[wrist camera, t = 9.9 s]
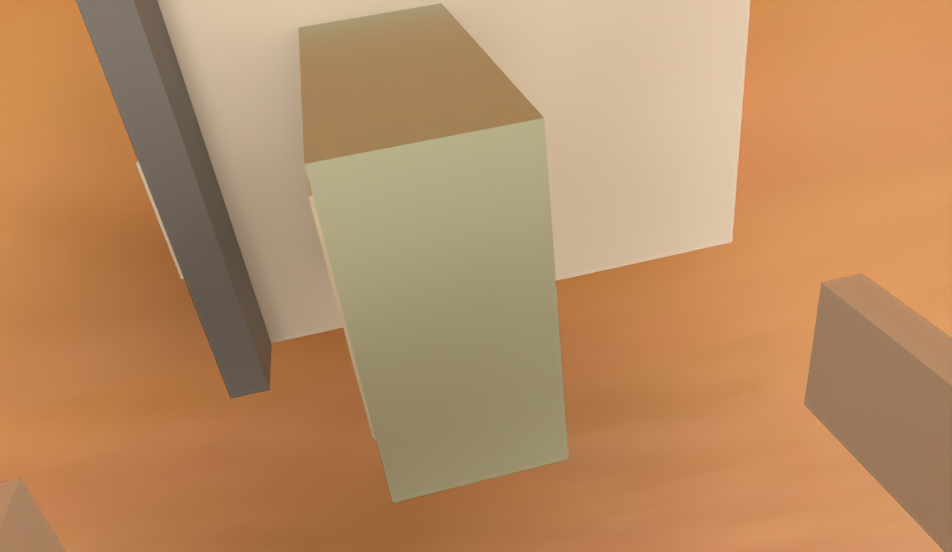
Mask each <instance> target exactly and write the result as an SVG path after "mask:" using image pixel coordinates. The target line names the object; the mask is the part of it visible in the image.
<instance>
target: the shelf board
mask: <svg viewBox="0 0 952 552" xmlns="http://www.w3.org/2000/svg"><path fill="white" fill-rule="evenodd" d="M76 2H77V4H78V7H79V9H80V12H81V15H82V17H83V20H84V22H85V25H86V27H87V30H88V33H89V35H90V38H91V40H92V43H93V45H94V48H95V51H96V53H97V56H98V58H99V61H100V63H101V66H102V69H103V71H104V74H105V76H106V79H107V82H108V84H109V87H110V89H111V92H112V94H113V97H114V100H115V102H116V105H117V107H118V110H119V112H120V115H121V118H122V120H123V123H124V125H125V128H126V130H127V133H128V136H129V138H130V141H131V143H132V146H133V148H134V151H135V154H136V156H137V160H136V162H135V163H136V165H137V168H138V171H139V173H140V176H141V178H142V181H143V183H144V186H145V188H146V191H147V194H148V196H149V199H150V201H151V204H152V206H153V209H154V212H155V214H156V217H157V219H158V222H159V224H160V227H161V229H162V232H163V235H164V237H165V240H166V242H167V245H168V247H169V250H170V252H171V255H172V258H173V260H174V263H175V265H176V268H177V270H178V273H179V275H180V278H181V279H184V280H185V282H186V285H187V287H188V290H189V293H190V295H191V298H192V300H193V303H194V306H195V308H196V311H197V313H198V316H199V318H200V321H201V324H202V326H203V329H204V331H205V334H206V336H207V339H208V342H209V344H210V347H211V349H212V352H213V354H214V357H215V360H216V362H217V365H218V367H219V370H220V372H221V375H222V378H223V380H224V383H225V385H226V388H227V390H228V393H229V396H230V398H235V397H240V396H244V395H249V394H253V393H257V392H262V391H266V390H270V367H271V343H275V342H280V341H284V340H289V339H294V338H298V337H303V336H307V335H312V334H316V333H321V332H325V331H330V330H334V329H339V328H343V325H342V322H341V318H340V314H339V310H338V306H337V303H336V299H335V295H334V291H333V287H332V284H331V280H330V276H329V272H328V269H327V265H326V261H325V257H324V253H323V250H322V246H321V242H320V238H319V234H318V231H317V227H316V223H315V219H314V215H313V212H312V208H311V204H310V200H309V196H308V177H307V172H306V169H305V165H304V145H303V121H302V97H301V72H300V48H299V27H304V26H310V25H316V24H322V23H328V22H334V21H340V20H346V19H352V18H357V17H363V16H369V15H375V14H381V13H387V12H393V11H399V10H404V9H410V8H416V7H422V6H428V5H434V4H440V3H442V4H443V5H444V7H445V8H446V9H447V10H448V11H449V12H450V13H451V14H452V15H453V17H454V18H455V19H456V20H457V21H458V22H459V23H460V24H461V26H462V27H463V28H464V29H465V30H466V31H467V32H468V33H469V34H470V36H471V37H472V38H473V39H474V40H475V41H476V42H477V43H478V45H479V46H480V47H481V48H482V49H483V50H484V51H485V52H486V53H487V55H488V56H489V57H490V58H491V59H492V60H493V61H494V62H495V64H496V65H497V66H498V67H499V68H500V69H501V70H502V71H503V72H504V74H505V75H506V76H507V77H508V78H509V79H510V80H511V81H512V83H513V84H514V85H515V86H516V87H517V88H518V89H519V90H520V91H521V93H522V94H523V95H524V96H525V97H526V98H527V99H528V100H529V101H530V103H531V104H532V105H533V106H534V107H535V108H536V109H537V110H538V112H539V113H540V114H541V115H542V116H543V117H544V121H545V135H546V149H547V163H548V177H549V191H550V205H551V219H552V233H553V247H554V261H555V275H556V281H558V280H562V279H567V278H571V277H576V276H580V275H585V274H589V273H594V272H598V271H603V270H608V269H612V268H617V267H621V266H626V265H630V264H635V263H639V262H644V261H649V260H653V259H658V258H662V257H667V256H671V255H676V254H680V253H685V252H690V251H694V250H699V249H703V248H708V247H712V246H717V245H721V244H726V243H730V242H732V237H733V224H734V211H735V198H736V185H737V171H738V158H739V145H740V132H741V119H742V105H743V92H744V79H745V66H746V53H747V40H748V26H749V13H750V0H76Z"/></svg>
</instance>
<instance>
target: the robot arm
mask: <svg viewBox="0 0 952 552" xmlns="http://www.w3.org/2000/svg"><path fill="white" fill-rule="evenodd" d="M804 405H805V406H806V407H807V408H808V409H809V410H810V411H811V412H812V413H813V414H814V415H815V416H816V417H817V418H818V419H819V420H820V422H821V423H822V424H823V425H824V426H825V427H826V428H827V429H828V430H829V431H830V432H831V433H832V434H833V435H834V436H835V437H836V438H837V439H838V440H839V441H840V442H841V444H842V445H843V446H844V447H845V448H846V449H847V450H848V451H849V452H850V453H851V454H852V455H853V456H854V457H855V458H856V459H857V460H858V461H859V462H860V463H861V464H862V466H863V467H864V468H865V469H866V470H867V471H868V472H869V473H870V474H871V475H872V476H873V477H874V478H875V479H876V480H877V481H878V482H879V483H880V484H881V485H882V486H883V487H884V489H885V490H886V491H887V492H888V493H889V494H890V495H891V496H892V497H893V498H894V499H895V500H896V501H897V502H898V503H899V504H900V505H901V506H902V507H903V508H904V509H905V511H906V512H907V513H908V514H909V515H910V516H911V517H912V518H913V519H914V520H915V521H916V522H917V523H918V524H919V525H920V526H921V527H922V528H923V529H924V530H925V531H926V532H927V534H928V535H929V536H930V537H931V538H932V539H933V540H934V541H935V542H936V543H937V544H938V545H939V546H940V547H941V548H942V549H943V550H944V551H945V552H952V338H951V337H950V336H948V335H947V334H946V333H944V332H943V331H941V330H940V329H939V328H937V327H936V326H934V325H933V324H932V323H930V322H929V321H927V320H926V319H925V318H923V317H922V316H920V315H919V314H918V313H916V312H915V311H914V310H912V309H911V308H909V307H908V306H907V305H905V304H904V303H902V302H901V301H900V300H898V299H897V298H895V297H894V296H893V295H891V294H890V293H889V292H887V291H886V290H884V289H883V288H882V287H880V286H879V285H877V284H876V283H875V282H873V281H872V280H870V279H869V278H868V277H866V276H865V275H863V274H862V273H859V274H855V275H851V276H847V277H843V278H839V279H835V280H831V281H827V282H822V283H821V289H820V296H819V303H818V311H817V318H816V325H815V332H814V339H813V346H812V353H811V360H810V367H809V374H808V381H807V388H806V395H805V402H804ZM0 552H66V551H65V549H64V547H63V546H62V544H61V543H60V541H59V539H58V538H57V536H56V534H55V533H54V531H53V530H52V528H51V526H50V525H49V523H48V521H47V520H46V518H45V517H44V515H43V513H42V512H41V510H40V509H39V507H38V505H37V504H36V502H35V500H34V499H33V497H32V496H31V494H30V492H29V491H28V489H27V488H26V486H25V484H24V483H23V481H22V479H21V478H18V479H14V480H10V481H6V482H2V483H0Z"/></svg>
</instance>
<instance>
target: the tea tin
mask: <svg viewBox="0 0 952 552" xmlns="http://www.w3.org/2000/svg"><path fill="white" fill-rule="evenodd" d="M299 48H300V72H301V97H302V121H303V145H304V165H305V169H306V172H307V177H308V196H309V200H310V204H311V208H312V212H313V215H314V219H315V223H316V227H317V231H318V234H319V238H320V242H321V246H322V250H323V253H324V257H325V261H326V265H327V269H328V272H329V276H330V280H331V284H332V287H333V291H334V295H335V299H336V303H337V306H338V310H339V314H340V318H341V322H342V325H343V329H344V333H345V337H346V341H347V344H348V348H349V352H350V356H351V360H352V363H353V367H354V371H355V375H356V379H357V382H358V386H359V390H360V394H361V397H362V401H363V405H364V409H365V413H366V416H367V420H368V424H369V428H370V432H371V435H372V439H373V440H374V439H376V441H377V445H378V449H379V453H380V457H381V461H382V464H383V468H384V472H385V476H386V480H387V484H388V488H389V491H390V495H391V499H392V503H395V502H399V501H403V500H407V499H411V498H415V497H419V496H423V495H427V494H431V493H435V492H439V491H443V490H447V489H451V488H455V487H459V486H463V485H467V484H471V483H475V482H479V481H483V480H487V479H491V478H495V477H499V476H503V475H507V474H511V473H515V472H519V471H523V470H527V469H531V468H535V467H539V466H543V465H547V464H551V463H555V462H559V461H563V460H567V459H569V457H568V443H567V429H566V415H565V401H564V387H563V373H562V359H561V345H560V331H559V317H558V303H557V289H556V275H555V261H554V247H553V233H552V219H551V205H550V191H549V177H548V163H547V149H546V135H545V121H544V117H543V116H542V115H541V114H540V113H539V112H538V110H537V109H536V108H535V107H534V106H533V105H532V104H531V103H530V101H529V100H528V99H527V98H526V97H525V96H524V95H523V94H522V93H521V91H520V90H519V89H518V88H517V87H516V86H515V85H514V84H513V83H512V81H511V80H510V79H509V78H508V77H507V76H506V75H505V74H504V72H503V71H502V70H501V69H500V68H499V67H498V66H497V65H496V64H495V62H494V61H493V60H492V59H491V58H490V57H489V56H488V55H487V53H486V52H485V51H484V50H483V49H482V48H481V47H480V46H479V45H478V43H477V42H476V41H475V40H474V39H473V38H472V37H471V36H470V34H469V33H468V32H467V31H466V30H465V29H464V28H463V27H462V26H461V24H460V23H459V22H458V21H457V20H456V19H455V18H454V17H453V15H452V14H451V13H450V12H449V11H448V10H447V9H446V8H445V7H444V5H443V4H442V3H440V4H434V5H428V6H422V7H416V8H410V9H404V10H399V11H393V12H387V13H381V14H375V15H369V16H363V17H357V18H352V19H346V20H340V21H334V22H328V23H322V24H316V25H310V26H304V27H299Z"/></svg>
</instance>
